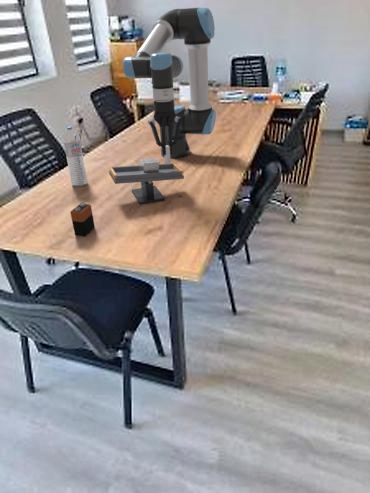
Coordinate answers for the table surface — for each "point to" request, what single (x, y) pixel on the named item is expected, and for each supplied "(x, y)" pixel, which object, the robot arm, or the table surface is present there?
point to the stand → (147, 194)
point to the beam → (145, 174)
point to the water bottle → (75, 158)
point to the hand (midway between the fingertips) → (167, 162)
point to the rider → (149, 165)
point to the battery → (82, 219)
